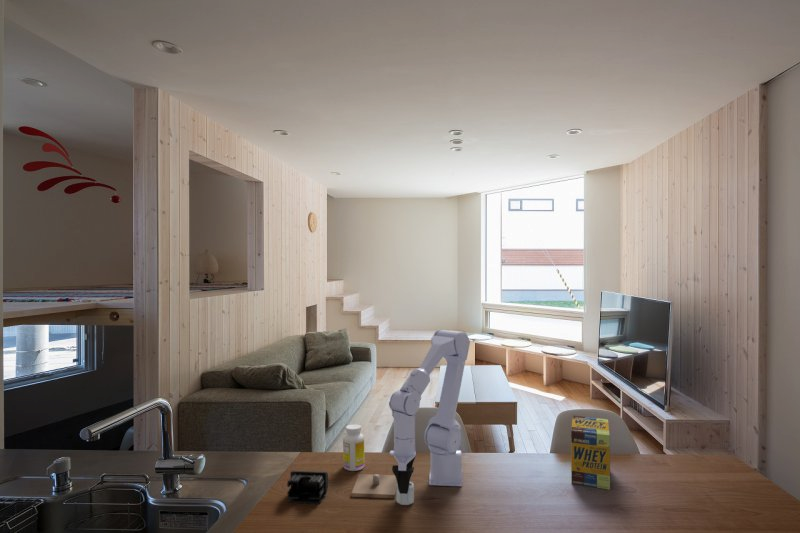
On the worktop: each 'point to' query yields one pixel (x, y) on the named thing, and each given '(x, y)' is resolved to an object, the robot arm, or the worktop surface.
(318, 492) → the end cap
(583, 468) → the protein box
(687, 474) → the worktop surface
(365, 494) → the post board
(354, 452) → the supplement bottle
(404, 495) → the cap
